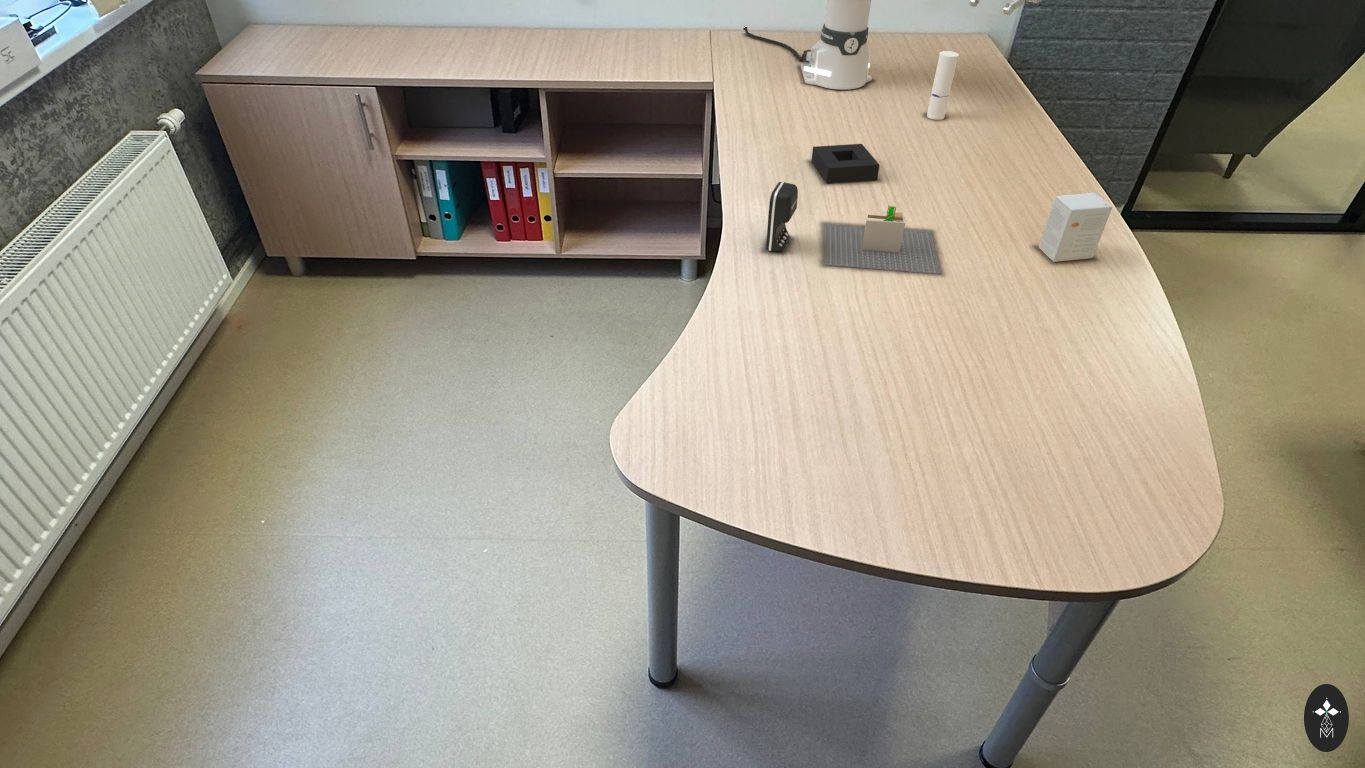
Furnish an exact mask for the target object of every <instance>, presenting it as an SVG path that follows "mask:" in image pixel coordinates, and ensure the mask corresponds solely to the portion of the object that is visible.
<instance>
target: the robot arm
mask: <svg viewBox="0 0 1365 768" xmlns="http://www.w3.org/2000/svg"><path fill="white" fill-rule="evenodd" d="M1042 1H1043V0H1013V1H1011V2H1009V3H1008V2H1006V4H1005V6H1004V7H1003V9H1002V12H1003V14H1004V15H1008V16H1011V15H1012V13H1013V12H1014V10H1016V9H1018V8H1020V7H1021V6H1022V5H1024V4H1025V2H1029V3H1032V4H1033V3H1034V4H1038V3H1040V2H1042ZM979 3H980V0H969V1H968V5H969V6H970V7H975V8H976V7H977V6H978V4H979ZM871 4H872V0H826V6H825V19H824V23H823V25H822V29H821V31H820V36H819V38H820V39H819V40H818V41H817V42H815V44H813V46H811V48H810V49H804V50H803V53H802V54H801V57H800V55H799V53H798V52H797V51H796V49H794V48H792V47H791V46H790V45H788V44H786V43H783V42H781V41H779V40H774V39H770V38H766V37H764V36H763V37H762V36H760V35H759V36H758V35H757V34H756V35H755V34H753V33H751V32H749V29H748V26H747V27H745V26H744V27H745V28H744V27H743V28H742V30H743V31H744V32H745V34H746V35H747V36H748V37H750V38H752V39H756V40H759V41H763V42H766V43H771V44H775V45H778V46H781V47H783V48H785V49H787V50H788V51H790V52H791V53H793V55H794V56H795V58H796V59H797V60H798V61H800V62H801V63H800V69H801V73H802V77H803V81H804V83H805V84H807V85H812V86H817V87H821V88H825V89H831V90H843V91H844V90H854V89H859V88H862V87H864V86H865V85H866V84H867V83H869V82H872V81H873V75H872V74H869V68H870V65H871V63H870V57H871V49H870V48H869V47H868V46H867V43H868V37H869V27H868V26H869V25H868V24H869V18H870V11H871Z"/></svg>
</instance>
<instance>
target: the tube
mask: <svg viewBox="0 0 1365 768" xmlns="http://www.w3.org/2000/svg"><path fill="white" fill-rule="evenodd" d="M958 59H959V53H958V52H955V51H950V50H943V51H940V52H939V55H938V60H937V64H936V69H935V74H934V79H933V84H932V88H931V94H930V99H929V103H928V109H927V112H926V117H927V118H928V119H931V120H936V121H940V120H944V119H945V117H946V112H947V108H948V104H949V99H950V94H951V90H952V85H953V80H954V77H955V73H956V68H957V63H958Z"/></svg>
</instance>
